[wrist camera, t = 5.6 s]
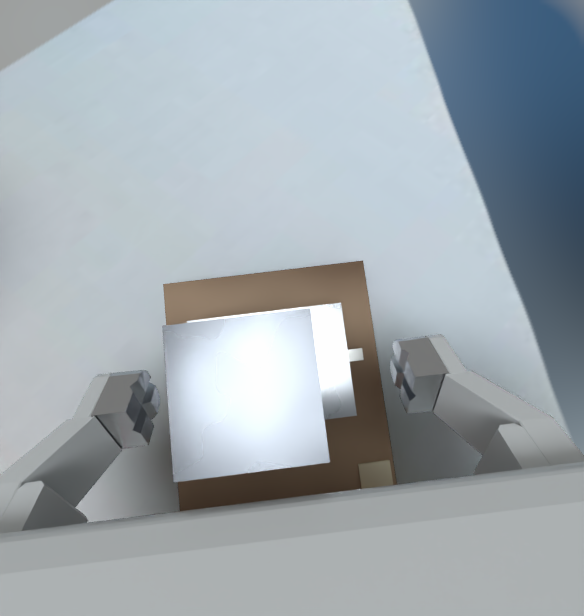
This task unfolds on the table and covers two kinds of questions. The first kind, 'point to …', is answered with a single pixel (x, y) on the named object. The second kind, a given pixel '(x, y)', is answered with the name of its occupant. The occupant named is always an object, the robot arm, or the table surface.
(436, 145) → the table surface
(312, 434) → the handle
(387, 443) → the base
